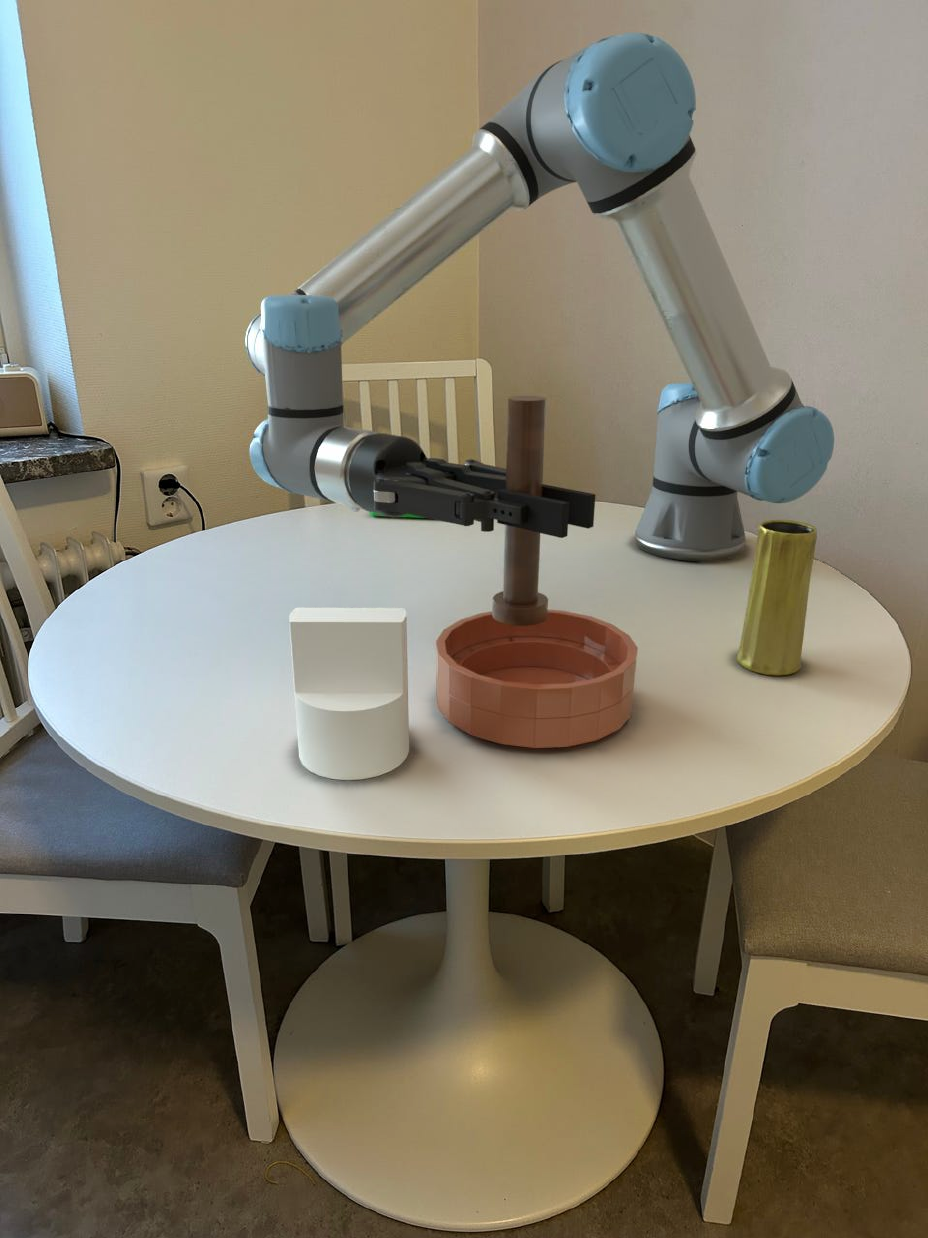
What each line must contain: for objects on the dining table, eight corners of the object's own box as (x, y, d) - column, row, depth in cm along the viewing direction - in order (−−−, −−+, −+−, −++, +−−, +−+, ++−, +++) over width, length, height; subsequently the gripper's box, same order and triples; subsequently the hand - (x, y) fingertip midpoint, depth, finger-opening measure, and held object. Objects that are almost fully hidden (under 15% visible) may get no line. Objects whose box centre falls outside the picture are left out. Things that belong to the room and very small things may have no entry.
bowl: (605, 661, 88) (609, 606, 86) (655, 749, 72) (662, 684, 70) (432, 666, 87) (431, 610, 85) (443, 758, 71) (442, 692, 68)
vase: (800, 680, 84) (822, 538, 79) (734, 671, 86) (752, 531, 81) (800, 656, 90) (822, 521, 84) (738, 647, 92) (755, 515, 86)
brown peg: (542, 605, 79) (551, 393, 72) (551, 625, 74) (562, 402, 67) (489, 606, 78) (493, 394, 71) (495, 627, 74) (500, 402, 67)
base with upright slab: (289, 780, 68) (278, 637, 63) (308, 724, 76) (299, 594, 72) (406, 780, 68) (402, 637, 63) (412, 724, 76) (409, 594, 72)
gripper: (431, 496, 90) (628, 540, 76) (310, 527, 79) (515, 585, 65) (431, 422, 88) (635, 454, 73) (306, 443, 76) (518, 486, 62)
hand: (578, 515), depth 69 cm, fingers closed on brown peg, 3 cm apart
